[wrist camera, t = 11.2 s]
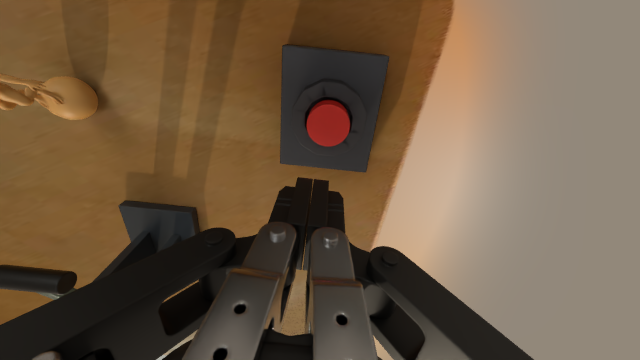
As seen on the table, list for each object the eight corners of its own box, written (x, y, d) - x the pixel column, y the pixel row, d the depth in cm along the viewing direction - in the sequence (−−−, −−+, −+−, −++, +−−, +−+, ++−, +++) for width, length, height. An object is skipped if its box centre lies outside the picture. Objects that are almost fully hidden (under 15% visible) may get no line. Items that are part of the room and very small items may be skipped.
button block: (286, 44, 23) (278, 45, 20) (385, 54, 23) (394, 57, 20) (283, 155, 29) (276, 171, 25) (363, 163, 29) (368, 181, 25)
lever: (2, 255, 19) (-29, 289, 17) (71, 262, 19) (46, 297, 17) (99, 303, 28) (85, 328, 26) (146, 307, 28) (134, 332, 26)
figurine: (66, 120, 28) (-94, 171, 17) (25, 60, 25) (-195, 78, 15) (134, 106, 27) (6, 150, 16) (99, 41, 24) (-82, 45, 14)
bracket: (125, 200, 33) (17, 285, 22) (195, 207, 33) (124, 295, 22) (147, 266, 39) (71, 360, 28) (207, 272, 39) (155, 369, 28)
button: (309, 97, 22) (308, 102, 21) (351, 101, 22) (353, 106, 21) (307, 137, 24) (305, 144, 22) (345, 141, 24) (346, 148, 22)
